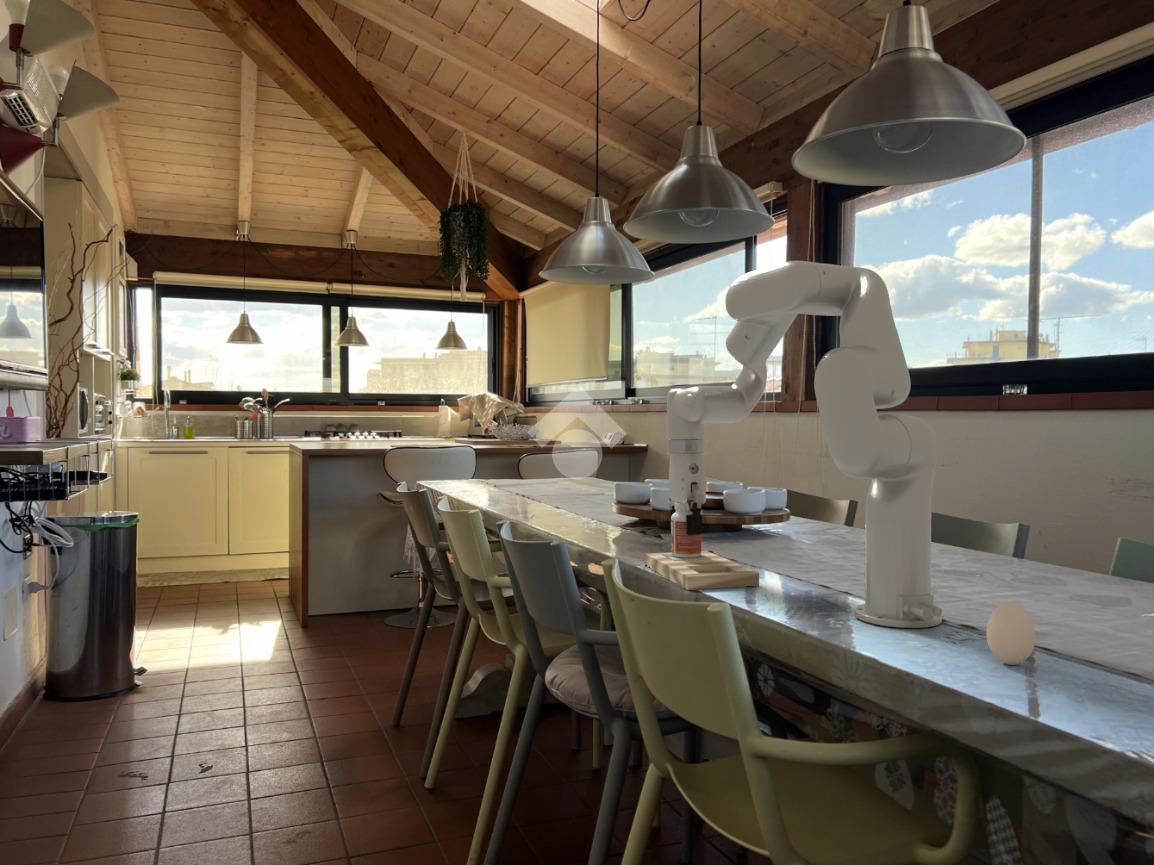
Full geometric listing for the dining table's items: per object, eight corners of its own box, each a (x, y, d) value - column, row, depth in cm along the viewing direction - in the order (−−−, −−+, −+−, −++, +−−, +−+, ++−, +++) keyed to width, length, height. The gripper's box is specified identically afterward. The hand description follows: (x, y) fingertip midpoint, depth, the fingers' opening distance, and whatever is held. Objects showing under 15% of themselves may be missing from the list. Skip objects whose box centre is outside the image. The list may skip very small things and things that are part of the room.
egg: (988, 668, 104) (988, 605, 104) (984, 656, 109) (984, 595, 109) (1038, 672, 102) (1038, 608, 102) (1031, 660, 107) (1031, 599, 107)
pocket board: (759, 586, 154) (759, 571, 154) (687, 590, 151) (687, 575, 151) (706, 562, 180) (706, 549, 179) (644, 565, 176) (644, 552, 176)
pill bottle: (707, 556, 171) (707, 502, 171) (684, 559, 167) (684, 504, 167) (687, 552, 176) (687, 500, 176) (665, 555, 173) (665, 501, 172)
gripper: (718, 449, 164) (718, 536, 164) (687, 446, 181) (688, 525, 181) (682, 450, 162) (682, 537, 163) (654, 447, 179) (655, 526, 180)
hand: (685, 531), depth 172 cm, fingers open, 9 cm apart
